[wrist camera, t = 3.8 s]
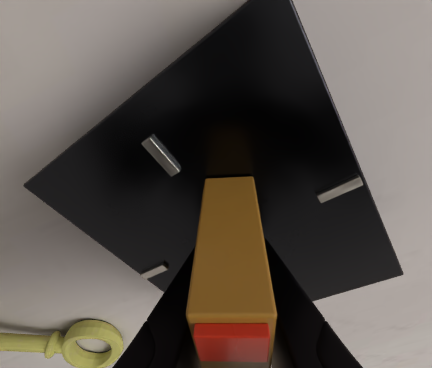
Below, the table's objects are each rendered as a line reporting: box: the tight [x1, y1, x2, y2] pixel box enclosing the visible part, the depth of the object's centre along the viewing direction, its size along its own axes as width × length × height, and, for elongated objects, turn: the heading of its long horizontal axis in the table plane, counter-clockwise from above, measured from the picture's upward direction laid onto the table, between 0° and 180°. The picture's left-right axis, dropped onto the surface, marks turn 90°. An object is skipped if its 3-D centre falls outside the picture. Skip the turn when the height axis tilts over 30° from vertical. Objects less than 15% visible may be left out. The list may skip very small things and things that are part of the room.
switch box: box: [186, 176, 277, 368], centre depth 7 cm, size 6×2×5 cm, turn 5°
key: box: [0, 320, 123, 368], centre depth 21 cm, size 7×12×2 cm, turn 92°
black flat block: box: [24, 0, 403, 301], centre depth 11 cm, size 12×10×3 cm
